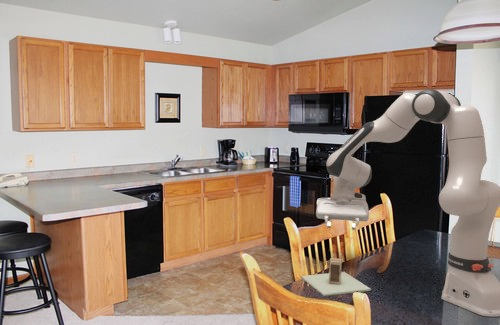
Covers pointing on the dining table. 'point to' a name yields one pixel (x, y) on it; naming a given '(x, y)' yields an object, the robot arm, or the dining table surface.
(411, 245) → the dining table surface
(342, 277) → the sage mat
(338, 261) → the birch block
